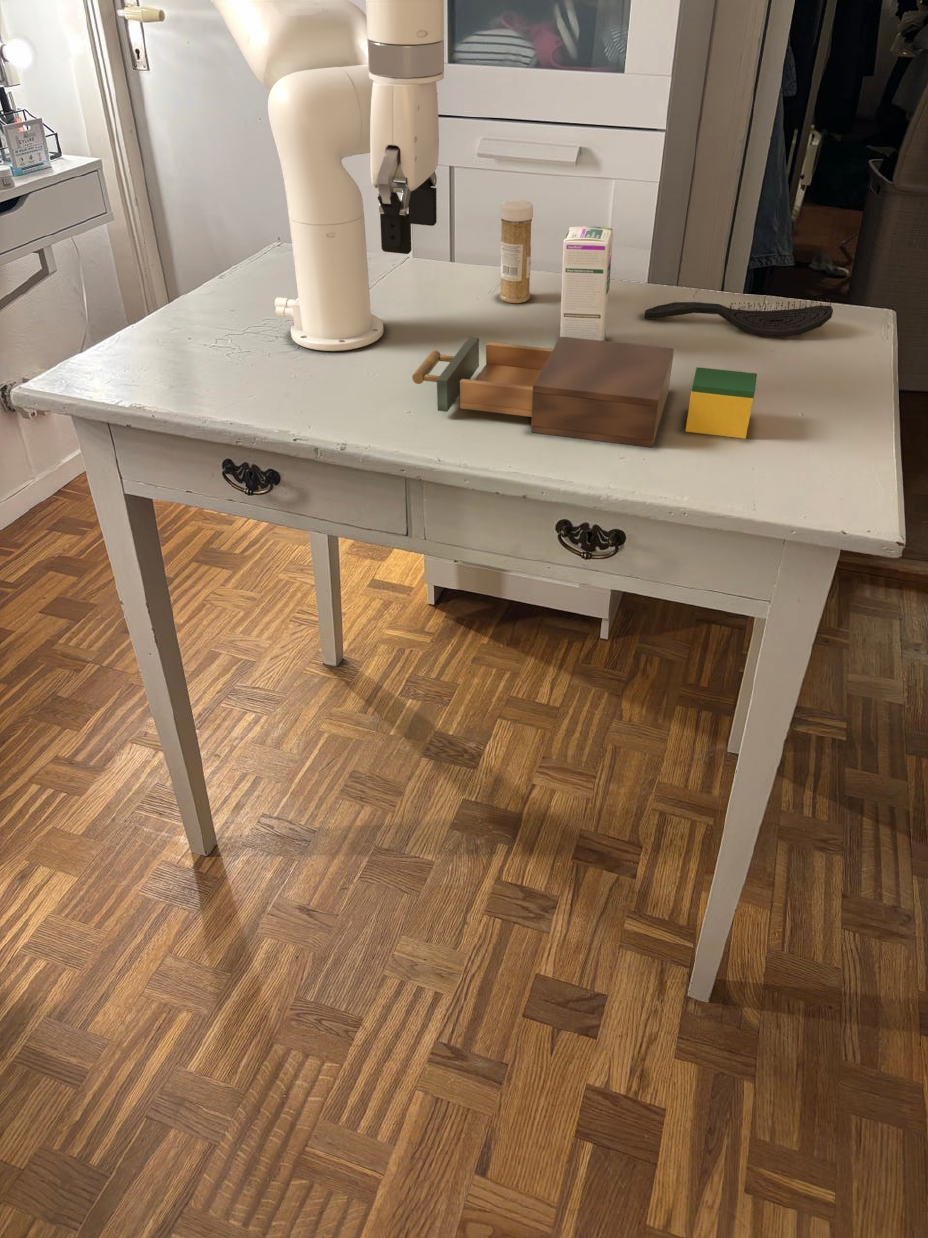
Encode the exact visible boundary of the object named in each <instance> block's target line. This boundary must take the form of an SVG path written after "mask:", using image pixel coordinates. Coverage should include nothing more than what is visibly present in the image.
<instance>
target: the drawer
mask: <svg viewBox="0 0 928 1238" xmlns="http://www.w3.org/2000/svg"><path fill="white" fill-rule="evenodd" d="M485 346H486V347H485V365H484V367H483V368H482V369H481V371H480V372H479V373H478V375H477V377H476V378H475V379H472V377H473V376H474V374H475V373H476V371H477V370H478V369H479V367H480V337H479V336H472V335H471V336H468V337H467V340H466V341H465V342H464V343H463V344H462V347H460V348H459V350H458V351H457V353H456V354H455V355H448V354H447V355H445V354H441V352H440V351H438V350H435V349H434V350H432V351H431V352H430V353H429V354H428V355H427V357H426V358H425V359H424V360H423V362H422V363H421V364H420V365H419V367H418V368H417V369H416V370H415V371H414V373H413V374H412V376H411V379H412V381H413V382H414V384H416V385H422V384H423V383H424V382H431V383H436V400H437V401H436V403H437V405H436V406H437V411H438V412H444V413H447V412H449V410H450V409H451V407H452V406H453V405H454V403H455V402H456V401H457V399H458V398H459V407H460V409H463V410H470V411H471V410H473V411H480V412H488V413H497V414H504V415H513V416H519V417H520V416H521V417H530V418H532V395H533V385H534V383H535V381H536V379H537V378H538V376H539V374H540V372H541V370H542V369H543V367H544V365H545V363H546V362H547V360H548V358H549V356H550V354H551V353H552V351H553V349H554V348H549V347H548V348H547V347H538V346H529V345H521V344H520V345H519V344H509V343H501V342H492V341H491V342H490V341H488V342H487V343H486V344H485ZM439 362H446V363H448V364H447V366H445V369H444V370H443V371H442V372H441V374H440V375H436V374H435V375H434V374H430V373H431V372H432V371H433V370H434V368H435V367H436V366H437V364H438V363H439Z"/></svg>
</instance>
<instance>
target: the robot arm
mask: <svg viewBox="0 0 928 1238" xmlns="http://www.w3.org/2000/svg"><path fill="white" fill-rule="evenodd" d="M209 1H210V3H211V4H212V5H213V7H215V9H216V10H217V12H218V14H220V16H221V18H222V19H223V21H224V24H225V26H226V27H227V28H228V31H229V32H230V35H231V36H232V38H233V40H234V41H235V43H236V45H237V47H238V49H239V50H240V53H241V54H242V55H243V58H244V60H245V62H246V63H247V65H248V66H249V68H250V70H251V72H252V73H253V75H254V76H255V78H256V79H257V80H258V82H259V83H260V84H261V85H263V86H264V87H265V88H266V89H268V90H270V92H269V94H268V97H267V113H268V114H267V115H268V120H269V125H270V129H271V132H272V136H273V140H274V143H275V146H276V150H277V151H276V152H277V155H278V158H279V162H280V167H281V172H282V177H283V183H284V190H285V198H286V205H287V215H288V222H289V227H290V228H289V230H290V239H291V245H292V246H291V247H292V255H293V264H294V272H295V281H296V282H295V283H296V288H297V297H296V299H293V298H289V297H282V296H277V297H276V298H275V299H274V304H273V305H274V309H275V310H274V311H275V316H276V317H278V318H291V320H292V321H293V323H292V325H291V327H290V337H291V339H292V340H293V342H295V344H297V345H299V346H301V347H304V348H307V349H310V350H314V351H323V352H324V351H325V352H339V351H350V350H355V349H359V348H363V347H366V346H369V345H372V344H374V343H375V342H377V341H378V340H379V339H380V338H382V336H383V335H384V323H383V320H382V319H381V318H379V317H377V316H376V315H374V314H372V306H371V294H370V278H369V266H368V250H367V237H366V221H365V210H364V199H363V195H362V191H361V190H360V186H359V185H358V184H357V182H356V181H355V179H354V178H353V177H352V175H351V174H350V173H349V172H348V171H347V169H346V168H345V167H344V165H343V162H342V160H343V159H344V158H348V157H352V156H357V155H365V154H370V155H369V156H370V157H369V158H370V159H369V160H370V164H369V165H370V183H371V185H372V187H373V188H375V189H377V191H378V194H377V195H378V196H377V200H378V204H379V205H378V212H379V219H380V220H379V221H380V223H379V224H380V242H381V243H380V246H381V250H382V252H384V253H393V254H401V255H409V254H410V253H411V252H412V249H413V248H412V225H420V226H430V227H434V226H435V225H436V224H437V223H438V222H437V221H438V218H437V216H438V215H437V214H438V213H437V212H438V211H437V209H438V208H437V187H436V186H437V181H438V180H437V178H438V177H437V174H436V170H437V169H438V164H439V154H440V153H439V151H440V149H439V148H440V130H439V129H440V128H439V127H440V126H439V124H440V123H439V102H438V101H439V100H438V86H437V84H438V83H437V82H441V81H442V80H443V79H445V66H444V65H445V40H444V39H445V37H444V36H445V35H444V34H445V32H444V31H445V26H444V25H445V19H444V17H445V15H444V13H445V10H444V9H445V3H444V2H445V0H365V12H364V11H363V9H361V8H360V7H359V6H358V5H356V4H355V3H353V2H351V1H349V0H209ZM398 193H401V197H399V194H398Z"/></svg>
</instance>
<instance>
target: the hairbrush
mask: <svg viewBox="0 0 928 1238" xmlns="http://www.w3.org/2000/svg"><path fill="white" fill-rule="evenodd" d="M816 300H817V301H816V305H813V304H814V303H815V301H810V304H809V306H807V305H805V303H807V300H805V303H801V300H799V307H798V306H795V305H796V304H795V303H796V302H795V301H793V304H791V301H788V302H787V306H785V307H783V306H784V302H783V301H782V302H781V304H780V302H776V303H775V306H776V307H773V308H774V309H772V307H770V308H767V306H766V305H769V302H768V303H766V302H765V303H764V308H763V310H761V309H762V305H761V303H759V302H758V303H757V305H759V306H758V307H759V308H758V309H757V308H756V304H755V303H756V302H754V303H753V308H755V310H752V308H751V307H752V304H751V302H748V303H747V306H748V308H749V309H746V305H745V304H746V303H745V301H744V302H743V304H744V306H740V307H737V309H736V308H735V307H734V308H732V307H733V304H734V305H736V303H737V302H734V303H733V302H731V303H730V304H729V307H728V306H725V305H722V304H720V303H713V302H712V303H711V302H699V301H674V302H668V303H663V304H660V305H659V304H658V305H655V306H653V307H650V308H648V309H645V310H644V316H643V317H644V319H647V320H648V319H649V320H656V319H663V318H669V317H675V316H683V315H689V314H705V315H718V316H719V317H721V318H722V319H724V320H725V321H726V322H728V323H729V324H730V325H733V326H734V327H735V328H737V329H739V330H741V331H742V332H744V333H748V334H751V335H754V336H758V337H761V338H776V339H781V338H788V337H796V336H801V335H803V334H806V333H809V332H811V331H813V330H815V329H816V330H817V329H819V328H821V327H822V326H823V325H824V324H826V323H827V322H828V321H829V320H831V319H832V317H833V313H834V308H833V307H832V301H831V300H830V298H828V297H826V298H825V302H829V303H826V304H825V305H823V304H822V302H823V301H824V299H823V298H820V303H819V305H818V300H819V298H817V299H816ZM790 304H791V306H792V308H790ZM738 305H741V302H738ZM779 305H780V306H779ZM804 305H805V306H804ZM802 306H804V307H802ZM778 307H781V309H778ZM797 307H798V308H797ZM766 309H767V310H766ZM768 309H770V310H768Z"/></svg>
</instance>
